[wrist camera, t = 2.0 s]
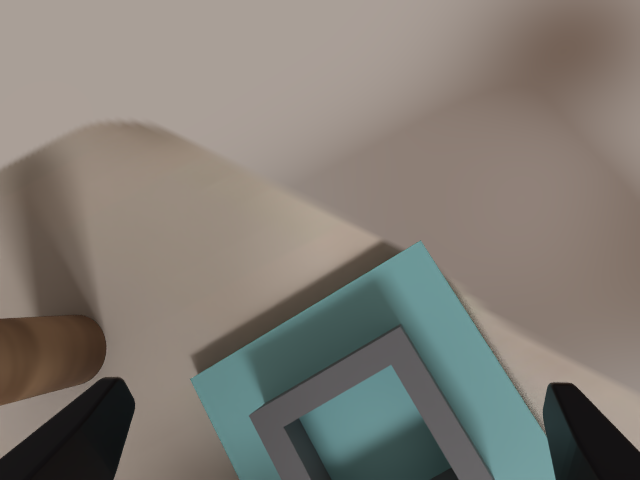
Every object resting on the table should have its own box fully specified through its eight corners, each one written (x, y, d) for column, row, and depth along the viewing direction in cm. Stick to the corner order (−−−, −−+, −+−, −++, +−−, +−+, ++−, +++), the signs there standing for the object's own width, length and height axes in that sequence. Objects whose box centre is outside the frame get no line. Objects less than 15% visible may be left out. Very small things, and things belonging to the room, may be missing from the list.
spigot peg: (61, 397, 27) (-137, 455, 17) (34, 336, 28) (-169, 357, 18) (117, 363, 26) (-53, 402, 17) (89, 302, 27) (-89, 304, 17)
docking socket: (326, 634, 23) (312, 693, 19) (198, 375, 25) (166, 388, 22) (584, 499, 21) (618, 537, 18) (419, 242, 24) (422, 233, 21)
